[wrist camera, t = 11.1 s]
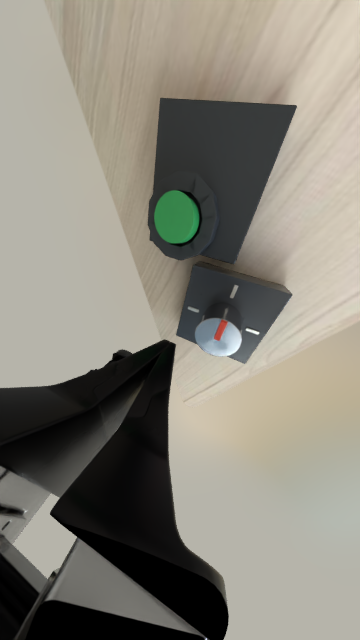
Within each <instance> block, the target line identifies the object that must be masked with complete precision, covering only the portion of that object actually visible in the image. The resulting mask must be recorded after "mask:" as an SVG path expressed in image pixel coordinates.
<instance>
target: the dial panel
mask: <svg viewBox="0 0 360 640" xmlns="http://www.w3.org/2000/svg"><path fill="white" fill-rule="evenodd" d="M291 297H292V293H291V292H290V291H289V290H288V289H287V288H286V287H285V286H282V285H279V284H275V283H272V282H269V281H265V280H262V279H258V278H255V277H252V276H248V275H245V274H241V273H238V272H235V271H231V270H228V269H224V268H221V267H218V266H214V265H211V264H207V263H204V262H198V263H196V264H194V265H193V268H192V272H191V276H190V280H189V284H188V289H187V293H186V297H185V301H184V305H183V309H182V313H181V317H180V321H179V325H178V329H177V333H176V335H177V336H179V337H182V338H184V339H186V340H189V341H191V342H194V343H196V344H197V342H196V339H195V330H196V328H197V326H198V324H199V322H200V320H201V318H202V316H203V314H204V312H205V311H206V309H207V308H208V307H209V306H211V305H212V304H215V303H220V302H223V303H228V304H231V305H233V306H234V307H236V308H237V309H238V310H239V312H240V314H241V317H242V342H241V345H240V347H239V349H238V350H237V351H236V352H235V353H233V354H231V355H228V356H227V357H230V358H232V359H234V360H237V361H239V362H242V363H244V364H245V363H246V362H247V360H248V359H249V357H250V356H251V354H252V353H253V352H254V350H255V349H256V347H257V346H258V344H259V343H260V342H261V340H262V339H263V337H264V336H265V334H266V333H267V331H268V330H269V329H270V327H271V326H272V324H273V323H274V321H275V320H276V318H277V317H278V316H279V314H280V313H281V311H282V310H283V308H284V307H285V305H286V304H287V303H288V301H289V300H290V298H291Z"/></svg>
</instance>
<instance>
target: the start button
mask: <svg viewBox="0 0 360 640" xmlns="http://www.w3.org/2000/svg"><path fill="white" fill-rule="evenodd" d="M154 219H155V226H156V229H157V231H158V233H159V235H160V236H161V237H162V238H163V239H164V240H165V241H167V242H169V243H184V242H187V241H189V240H190V239H191V238H192V237H193V236H194V235H195V233H196V232H197V229H198V226H199V220H200V217H199V211H198V208H197V206H196V204H195V202H194V201H193V200H192V199H191V198H189V197H188V196H187V195H186V194H184V193H183V192H181V191H177V190H172V191H169V192H167V193H165V194H164V195H163V196H162V197H161V198H160V200H159V201H158V203H157V205H156V209H155V215H154Z"/></svg>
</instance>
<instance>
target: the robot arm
mask: <svg viewBox="0 0 360 640" xmlns="http://www.w3.org/2000/svg"><path fill="white" fill-rule="evenodd" d="M175 348H176V344H174V343H172V342H170V341H167V340H162V341H160V342H158V343H156V344H154V345H151V346H149V347H147V348H145V349H143V350H140V351H138V352H136V353H134V354H132V355H130V356H128V357H123V356H120V355H118V354H116V353H113V359H112V360H111V361H109V362H108V363H107V364H106V365H105V366H104V367H103V368H101V369H98V370H97V369H95V370H90V372H88V373H87V374H85V375H82V376H80V377H77V378H74V379H71V380H68V381H66V382H63V383H60V384H56V385H51V386H42V387H19V388H0V640H223V639H224V637H225V634H226V631H227V627H228V617H229V616H228V608H227V600H226V592H225V584H224V580H223V577H222V576H221V575H220V574H219V573H218V572H217V571H216V570H215V569H214V568H213V567H212V566H210V565H209V564H208V563H207V562H205V561H204V560H203V559H201V558H200V557H198V556H197V555H196V554H194V553H193V552H192V551H190V550H189V549H188V548H187V547H186V546H185V545H184V543H183V541H182V539H181V538H180V535H179V532H178V529H177V525H176V520H175V511H174V502H173V493H172V484H171V476H170V467H169V452H168V406H169V405H168V404H169V394H170V386H171V379H172V371H173V363H174V356H175ZM120 424H121V425H120ZM118 427H119V428H118ZM116 430H117V431H116ZM115 431H116V432H115ZM51 493H52V494H54V495H56V496H58V497H60V499H59V500H58V501H57V503H56V504H55V506H54V507H53V509H52V510H51V512H50V515H51V516H52V517H54V519H56V520H57V521H58V522H59V523H60V524H61V525H63V526H64V527H65V528H67V529H68V530H69V531H71V532H72V533H73V534H74V535H76V536H77V539H76V541H75V542H74V544H73V546H72V547H71V549H70V551H69V553H68V555H67V556H66V558H65V560H64V562H63V564H62V566H61V567H60V568H58V569H56V570H55V571H53V572H52V574H51V576H50V577H49V579H47V578H46V577H45V576H44V575H43V574H41V572H40V571H39V570H38V569H36V567H35V566H34V565H33V564H32V563H30V562H29V561H28V559H26V558H25V557H24V556H23V555H22V554H21V553H20V552H19V551H18V550H17V549H16V548H15V547H14V546H13V545H12V544H13V543H14V541H15V540H16V539H17V537H18V536H19V535H20V533H21V532H22V531H23V529H24V528H25V527H26V525H27V524H28V523H29V521H30V520H31V519H32V517H33V516H34V515H35V513H36V512H37V511H38V510H39V508H40V507H41V506H42V504H43V503H44V502H45V500H46V499H47V498H48V496H49V495H50V494H51Z"/></svg>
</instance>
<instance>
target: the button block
mask: <svg viewBox="0 0 360 640" xmlns="http://www.w3.org/2000/svg"><path fill="white" fill-rule="evenodd" d="M296 108H297V106H296V105H281V104H262V103H244V102H226V101H208V100H189V99H171V98H160V108H159V121H158V135H157V148H156V161H155V175H154V188H153V195H152V197H151V199H150V201H149V214H148V226H149V229H150V241H153V242H154V244H155V245H156V246H157V247H158V248H159V249H160V250H161V251H162V252H163V253H164V254H165V255H166V256H168V257H171V258H175V259H178V260H184V259H187V258H190V257H193V256H196V255H203V256H206V257H210V258H213V259H217V260H220V261H224V262H228V263H231V264H235V261H236V259H237V256H238V254H239V251H240V249H241V246H242V244H243V241H244V239H245V236H246V234H247V231H248V229H249V226H250V224H251V221H252V219H253V216H254V214H255V211H256V209H257V206H258V204H259V201H260V199H261V196H262V193H263V191H264V188H265V186H266V183H267V181H268V178H269V176H270V173H271V171H272V168H273V166H274V163H275V161H276V158H277V156H278V153H279V151H280V148H281V146H282V143H283V141H284V138H285V136H286V133H287V131H288V128H289V126H290V123H291V120H292V118H293V115H294V113H295V110H296ZM172 190H177V191H181V192H183V193H184V194H186V195H187V196H188V197H189V198H191V199H192V200H193V201H194V202H195V204H196V206H197V208H198V211H199V217H200V220H199V226H198V229H197V232H196V233H195V235H194V236H193V237H192V238H191V239H190V240H189V241H187V242H184V243H169V242H167V241H165V240H164V239H163V238H162V237H161V236H160V235H159V233H158V231H157V229H156V226H155V219H154V215H155V209H156V205H157V203H158V201H159V200H160V198H161V197H162V196H163V195H164V194H165V193H167V192H169V191H172Z"/></svg>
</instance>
